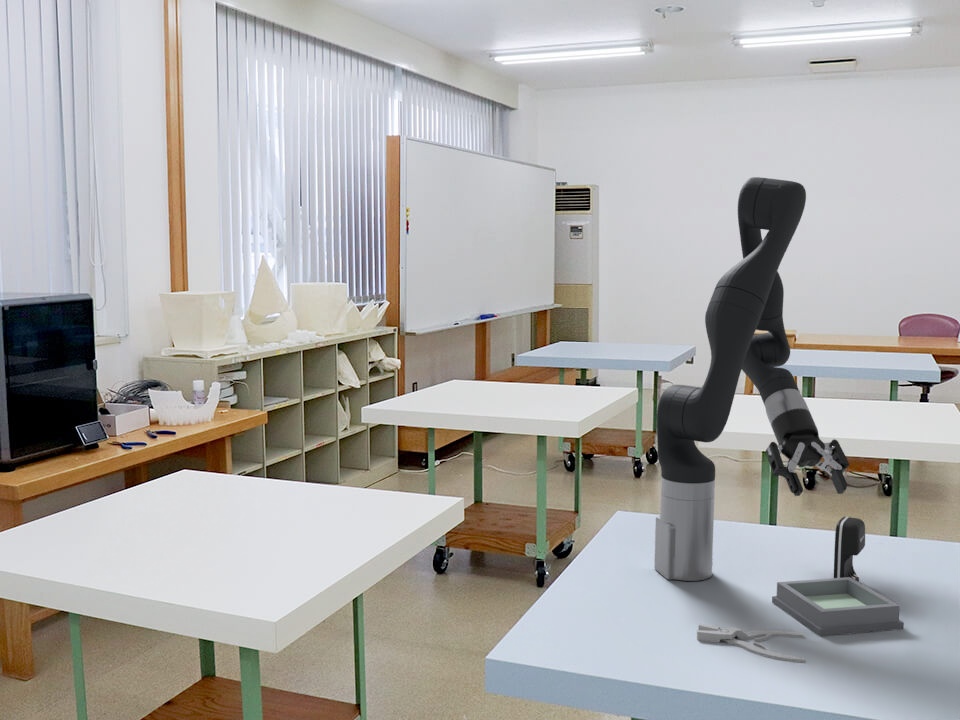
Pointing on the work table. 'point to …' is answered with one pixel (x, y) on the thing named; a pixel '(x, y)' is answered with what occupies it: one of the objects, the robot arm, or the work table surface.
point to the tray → (837, 606)
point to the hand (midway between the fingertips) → (821, 492)
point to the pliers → (728, 636)
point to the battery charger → (848, 546)
